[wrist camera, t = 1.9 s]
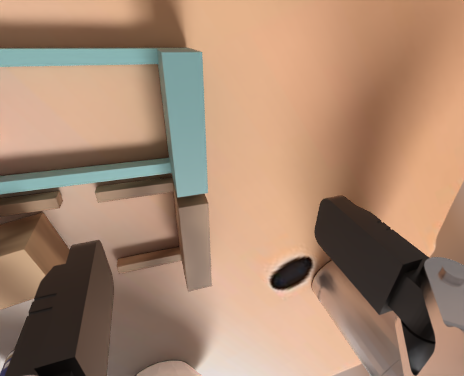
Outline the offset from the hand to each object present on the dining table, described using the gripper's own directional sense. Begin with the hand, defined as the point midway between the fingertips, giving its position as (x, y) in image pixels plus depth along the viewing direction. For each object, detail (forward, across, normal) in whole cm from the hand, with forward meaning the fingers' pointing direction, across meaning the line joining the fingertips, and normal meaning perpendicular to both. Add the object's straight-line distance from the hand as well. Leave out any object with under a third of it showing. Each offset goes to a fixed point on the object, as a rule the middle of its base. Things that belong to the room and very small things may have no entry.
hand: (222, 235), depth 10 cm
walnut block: (+16, +14, +10) cm, 24 cm away
